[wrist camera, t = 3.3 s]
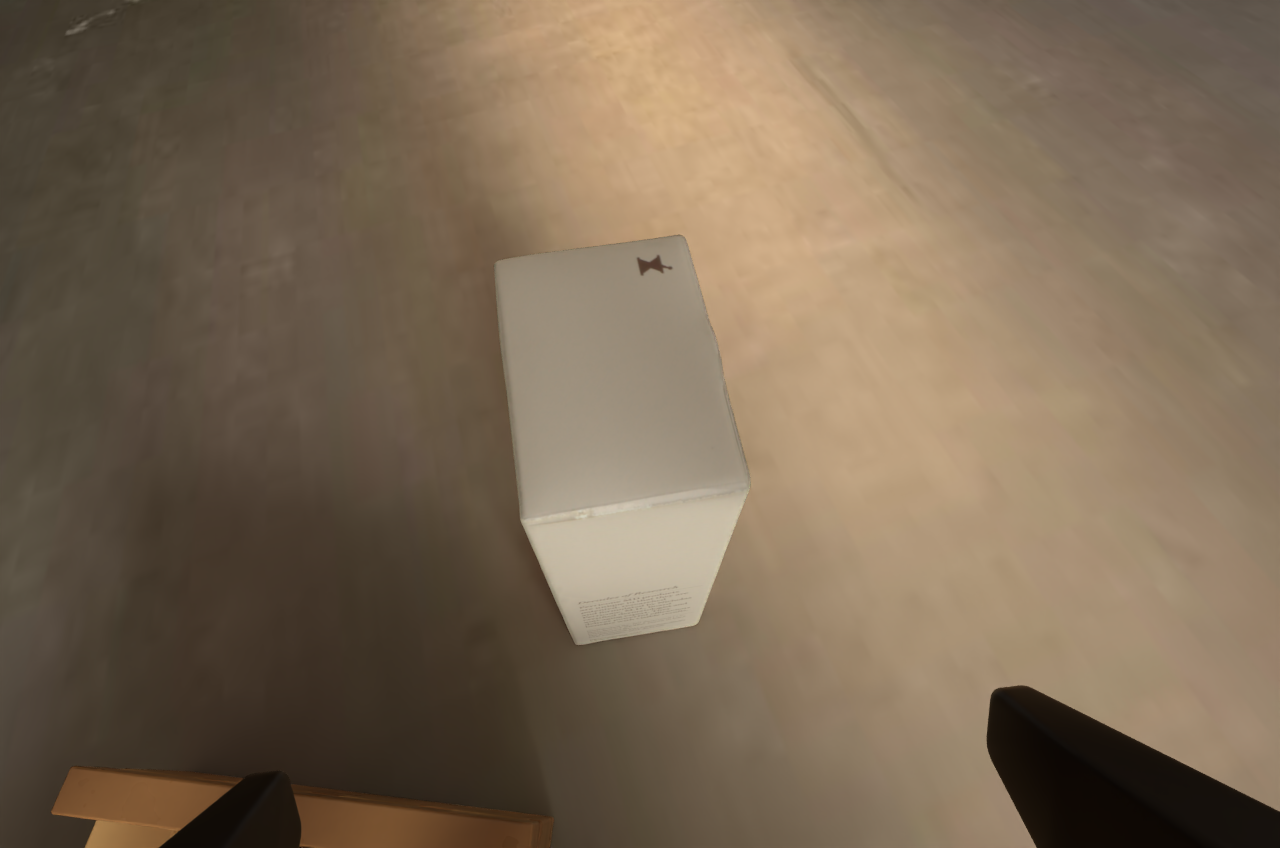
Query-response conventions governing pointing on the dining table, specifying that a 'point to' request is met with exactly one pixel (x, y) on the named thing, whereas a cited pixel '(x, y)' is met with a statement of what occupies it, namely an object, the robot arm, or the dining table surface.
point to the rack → (330, 819)
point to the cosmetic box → (619, 432)
